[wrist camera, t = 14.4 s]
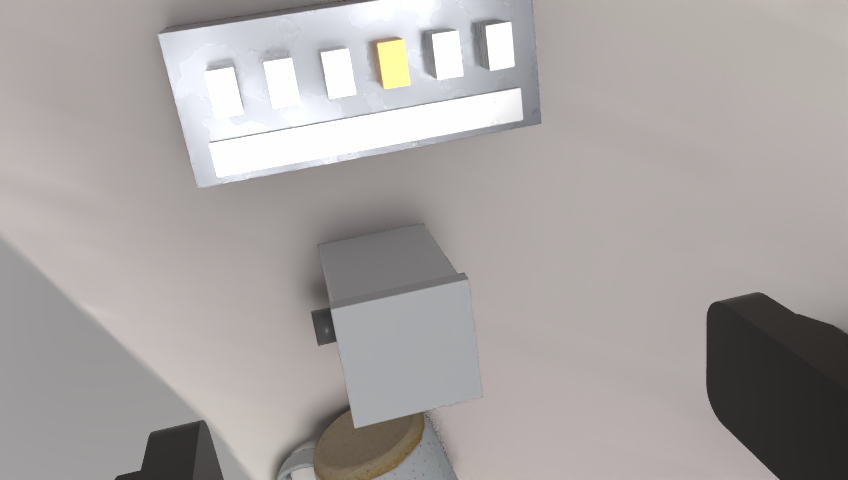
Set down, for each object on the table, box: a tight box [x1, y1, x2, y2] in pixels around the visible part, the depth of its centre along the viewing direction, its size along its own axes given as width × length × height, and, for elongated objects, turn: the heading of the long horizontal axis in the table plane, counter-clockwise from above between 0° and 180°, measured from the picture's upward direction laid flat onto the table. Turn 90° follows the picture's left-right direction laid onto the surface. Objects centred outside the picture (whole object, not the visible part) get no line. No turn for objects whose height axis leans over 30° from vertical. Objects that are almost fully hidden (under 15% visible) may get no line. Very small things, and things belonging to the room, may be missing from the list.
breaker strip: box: [158, 0, 541, 188], centre depth 35 cm, size 17×7×6 cm, turn 97°
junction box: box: [311, 223, 483, 428], centre depth 38 cm, size 7×6×9 cm
